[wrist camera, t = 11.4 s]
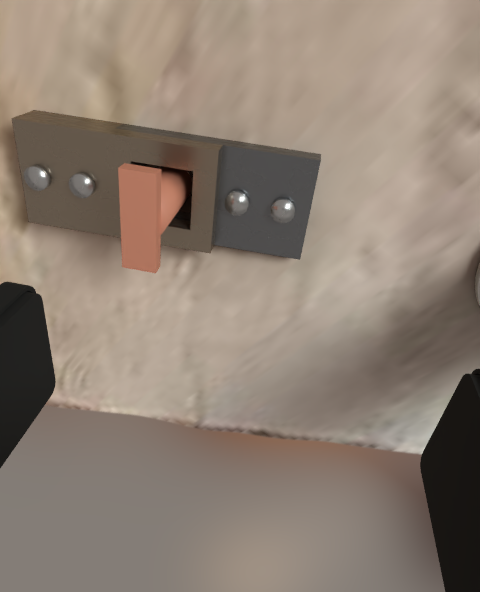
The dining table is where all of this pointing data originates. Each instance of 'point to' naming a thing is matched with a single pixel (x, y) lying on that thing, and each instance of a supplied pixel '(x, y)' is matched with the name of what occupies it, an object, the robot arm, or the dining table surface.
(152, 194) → the orange t-shaped block
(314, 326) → the dining table surface
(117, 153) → the studded slotted plate
